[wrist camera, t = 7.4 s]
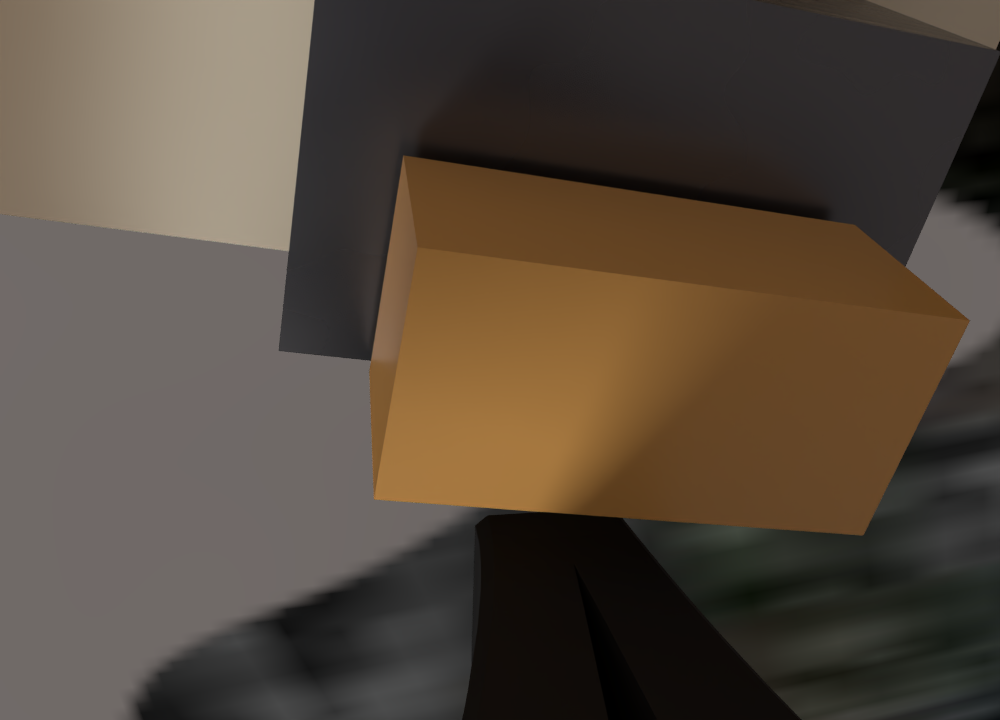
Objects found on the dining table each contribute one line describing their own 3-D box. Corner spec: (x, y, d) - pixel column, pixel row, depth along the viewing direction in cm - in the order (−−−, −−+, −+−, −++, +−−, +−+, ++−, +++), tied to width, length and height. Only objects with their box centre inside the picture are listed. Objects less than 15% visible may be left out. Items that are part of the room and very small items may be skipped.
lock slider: (369, 371, 8) (374, 499, 7) (403, 155, 7) (418, 247, 6) (777, 414, 9) (862, 536, 8) (855, 224, 8) (970, 320, 7)
